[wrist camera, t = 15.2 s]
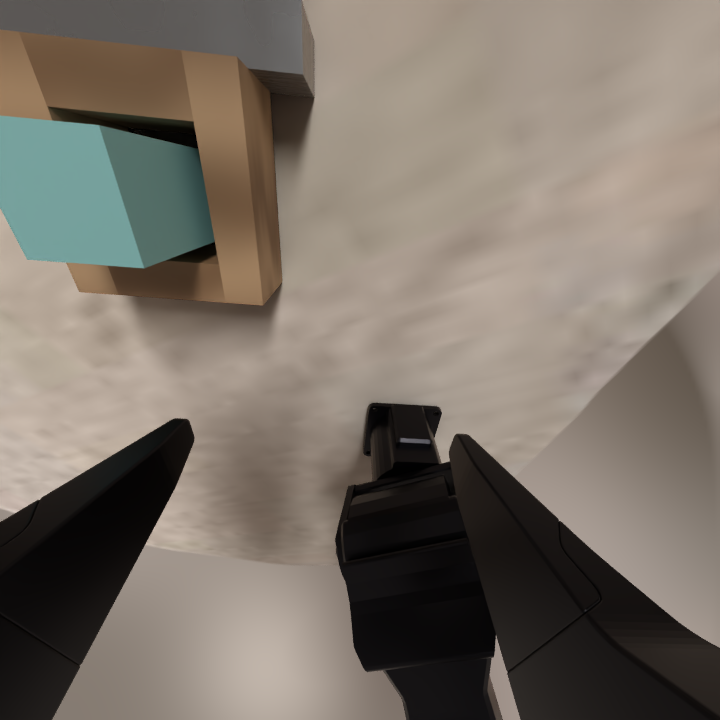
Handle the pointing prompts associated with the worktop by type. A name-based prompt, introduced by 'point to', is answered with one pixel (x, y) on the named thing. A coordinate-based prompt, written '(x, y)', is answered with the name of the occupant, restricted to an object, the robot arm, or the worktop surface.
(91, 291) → the socket block
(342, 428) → the worktop surface
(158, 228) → the turquoise rectangular prism
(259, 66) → the backstop wall
